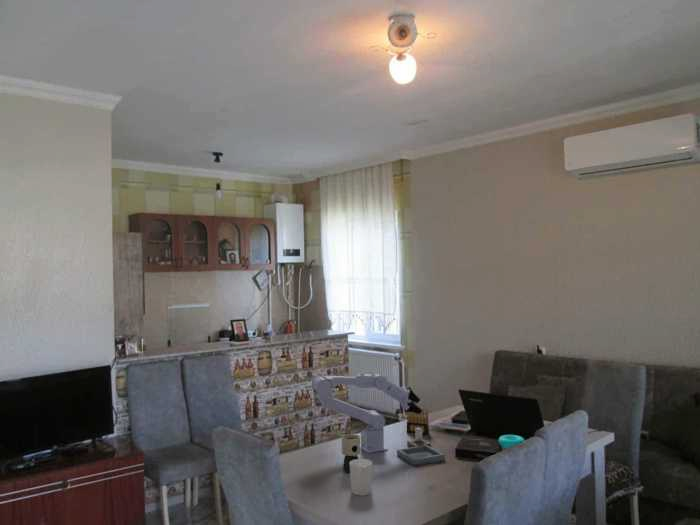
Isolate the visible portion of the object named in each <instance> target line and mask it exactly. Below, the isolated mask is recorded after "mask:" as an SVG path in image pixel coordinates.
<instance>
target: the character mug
mask: <svg viewBox="0 0 700 525" xmlns="http://www.w3.org/2000/svg"><path fill="white" fill-rule="evenodd" d="M360 447H361V435H359V434H344V435H342V436H341V453H342V455H344V457H343V465H342V466H343V467H342V470H343V471H344V472H347V473H350V464H349V463H350V461H352V460H355V459H359V455H360V454H361V448H360Z"/></svg>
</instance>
